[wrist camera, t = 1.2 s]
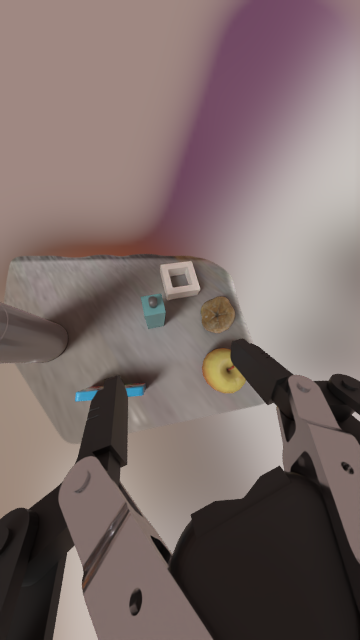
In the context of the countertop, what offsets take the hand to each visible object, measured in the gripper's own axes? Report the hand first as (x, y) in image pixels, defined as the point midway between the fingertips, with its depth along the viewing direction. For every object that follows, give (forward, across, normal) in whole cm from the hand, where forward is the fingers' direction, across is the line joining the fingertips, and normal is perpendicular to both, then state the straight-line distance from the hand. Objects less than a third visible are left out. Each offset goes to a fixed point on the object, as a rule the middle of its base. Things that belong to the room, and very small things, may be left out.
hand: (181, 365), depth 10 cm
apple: (+15, -12, +23) cm, 30 cm away
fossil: (+25, -16, +13) cm, 32 cm away
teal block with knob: (+27, 0, +11) cm, 29 cm away
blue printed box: (+18, +11, +21) cm, 29 cm away
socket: (+33, -9, +4) cm, 35 cm away
